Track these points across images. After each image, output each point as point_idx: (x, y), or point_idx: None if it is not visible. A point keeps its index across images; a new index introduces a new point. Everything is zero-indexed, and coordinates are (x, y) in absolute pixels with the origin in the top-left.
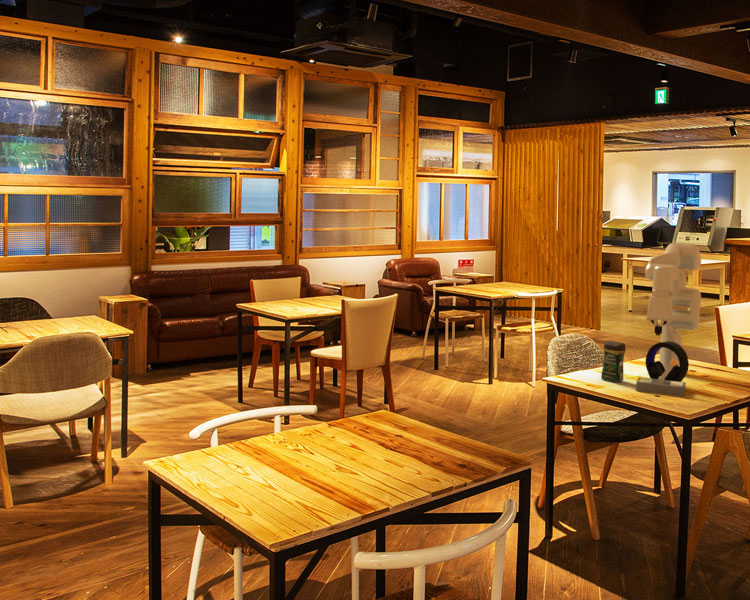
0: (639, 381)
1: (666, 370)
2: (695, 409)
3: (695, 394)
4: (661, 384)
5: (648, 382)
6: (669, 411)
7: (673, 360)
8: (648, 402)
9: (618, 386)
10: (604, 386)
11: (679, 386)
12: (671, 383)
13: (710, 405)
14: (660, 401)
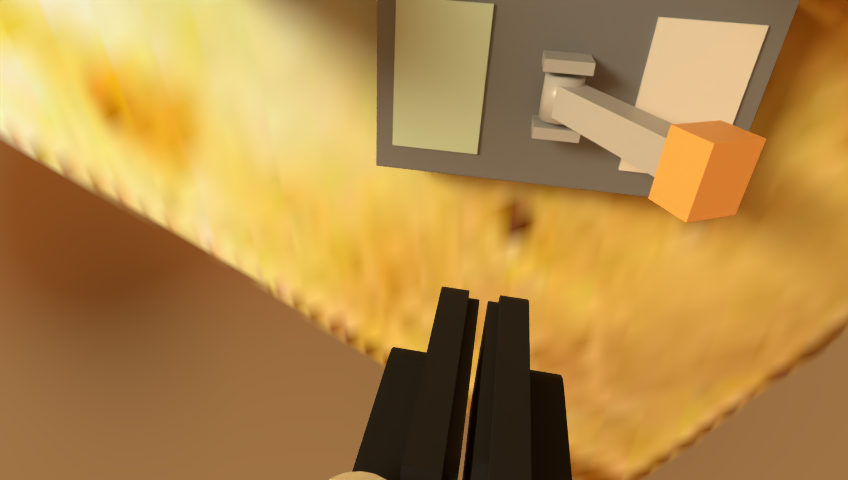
0: (395, 143)
1: (606, 146)
2: (684, 410)
3: (825, 66)
4: (552, 168)
5: (459, 152)
6: None
7: (691, 218)
8: None
9: (272, 57)
10: (197, 101)
11: None
12: None
13: (810, 324)
14: None
